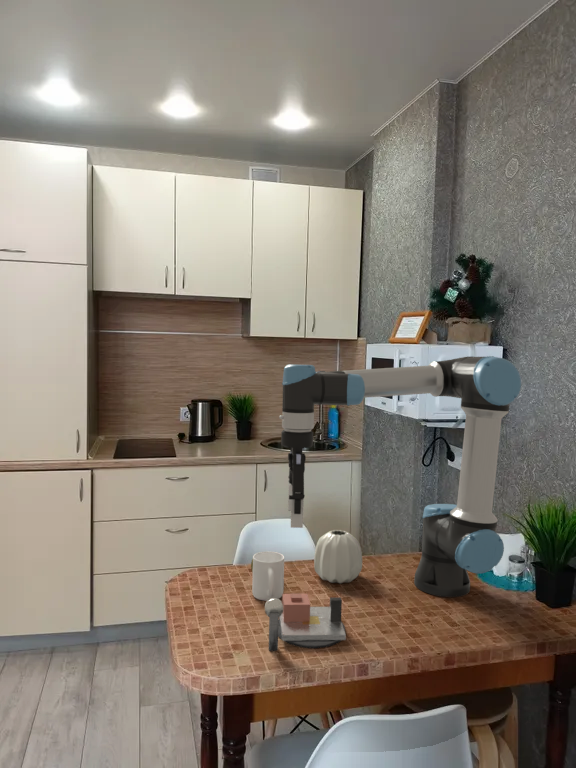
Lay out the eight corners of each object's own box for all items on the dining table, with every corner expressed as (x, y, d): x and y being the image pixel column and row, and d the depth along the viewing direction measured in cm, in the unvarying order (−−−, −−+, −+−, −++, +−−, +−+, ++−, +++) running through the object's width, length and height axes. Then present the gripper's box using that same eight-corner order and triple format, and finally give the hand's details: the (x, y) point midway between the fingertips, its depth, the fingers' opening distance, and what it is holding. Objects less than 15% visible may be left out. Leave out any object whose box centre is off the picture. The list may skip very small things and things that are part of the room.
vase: (304, 579, 162) (305, 533, 161) (329, 565, 173) (330, 522, 172) (347, 592, 154) (348, 543, 153) (370, 576, 165) (371, 531, 165)
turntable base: (338, 614, 140) (338, 610, 140) (350, 648, 124) (350, 643, 124) (274, 615, 139) (274, 611, 139) (277, 648, 123) (277, 644, 123)
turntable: (335, 611, 139) (336, 586, 139) (345, 640, 125) (346, 612, 125) (278, 611, 138) (279, 586, 138) (282, 640, 124) (283, 612, 124)
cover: (306, 609, 137) (307, 590, 137) (309, 621, 131) (310, 601, 131) (282, 610, 136) (282, 590, 136) (283, 621, 130) (284, 601, 130)
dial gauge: (281, 645, 125) (283, 597, 124) (282, 651, 122) (284, 603, 122) (263, 645, 125) (264, 597, 124) (264, 651, 122) (265, 603, 121)
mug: (287, 607, 144) (288, 567, 143) (254, 608, 142) (255, 568, 142) (281, 588, 155) (282, 551, 155) (251, 589, 154) (251, 551, 154)
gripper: (280, 423, 146) (278, 504, 147) (283, 437, 121) (280, 534, 123) (309, 423, 147) (306, 504, 148) (318, 437, 122) (315, 535, 123)
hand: (295, 518), depth 135 cm, fingers open, 13 cm apart
